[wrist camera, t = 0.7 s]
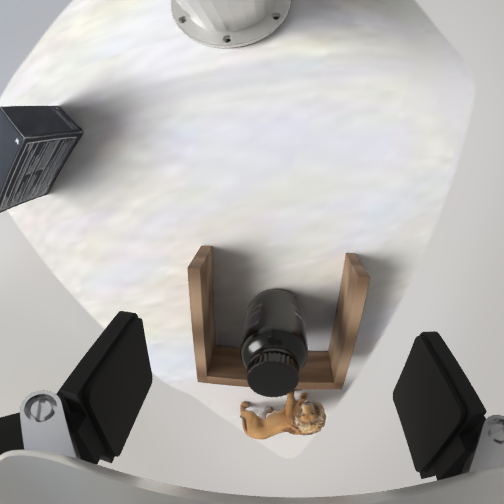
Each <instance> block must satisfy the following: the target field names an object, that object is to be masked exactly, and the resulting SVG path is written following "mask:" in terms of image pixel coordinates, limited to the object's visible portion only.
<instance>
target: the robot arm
mask: <svg viewBox="0 0 504 504" xmlns="http://www.w3.org/2000/svg"><path fill="white" fill-rule="evenodd" d="M290 5H291V0H171V12H172V16H173V19H174V21H175V22H176V24H177V26H178V27H179V28H180V29H181V30H182V31H183V32H184V33H185V34H186V35H187V36H188V37H189V38H191V39H193V40H195V41H196V42H198V43H201V44H204V45H207V46H212V47H218V48H234V47H241V46H245V45H249V44H252V43H255V42H257V41H259V40H261V39H264V38H265V37H267V36H268V35H270V34H271V33H273V32H274V31H275V30H276V29H277V28H278V27H279V26H280V25H281V24H282V23H283V21H284V20H285V18H286V17H287V14H288V12H289V9H290ZM275 17H277V18H278V19H277V20H275V19H274V18H275ZM183 21H186V22H185V23H183ZM228 39H230V40H231V41H230V42H228V43H227V42H226V40H228ZM151 384H152V372H151V367H150V362H149V356H148V351H147V345H146V340H145V334H144V328H143V322H142V319H141V318H138V316H137V314H136V313H131V312H124V311H120V312H119V313H118V314H117V315H116V316H115V317H114V319H113V320H112V321H111V322H110V324H109V325H108V326H107V328H106V329H105V330H104V331H103V333H102V334H101V335H100V337H99V338H98V339H97V341H96V342H95V343H94V344H93V346H92V347H91V348H90V349H89V351H88V352H87V353H86V354H85V356H84V357H83V358H82V360H81V361H80V363H79V364H78V365H77V366H76V368H75V369H74V370H73V372H72V373H71V375H70V376H69V377H68V379H67V380H66V381H65V383H64V384H63V386H62V387H61V388H60V390H59V391H58V393H57V394H55V393H52V392H51V391H45V390H43V391H36V392H33V393H31V394H30V395H28V396H27V397H26V398H25V399H24V400H23V401H22V403H21V406H20V413H16V414H12V415H9V416H5V417H1V418H0V504H504V416H501V415H492V416H490V417H488V418H487V419H486V418H485V417H484V415H485V413H486V409H485V408H484V406H483V404H482V402H481V400H480V399H479V397H478V395H477V394H476V392H475V390H474V388H473V387H472V386H471V383H470V382H469V380H468V378H467V377H466V375H465V373H464V372H463V370H462V369H461V367H460V365H459V364H458V362H457V361H456V359H455V357H454V356H453V355H452V353H451V351H450V350H449V348H448V347H447V345H446V344H445V342H444V341H443V339H442V338H441V336H440V335H439V333H438V332H422V333H421V334H420V336H417V337H416V339H415V341H414V344H413V346H412V349H411V351H410V354H409V356H408V359H407V361H406V364H405V366H404V368H403V371H402V373H401V375H400V378H399V380H398V383H397V384H396V387H395V389H394V392H393V401H394V403H395V406H396V409H397V412H398V415H399V418H400V421H401V424H402V427H403V431H404V433H405V437H406V440H407V443H408V446H409V450H410V453H411V456H412V460H413V463H414V467H415V469H416V471H417V472H420V476H421V479H424V478H428V477H432V476H435V475H436V478H437V481H434V482H429V483H425V484H420V485H415V486H411V487H405V488H400V489H394V490H388V491H381V492H375V493H366V494H358V495H347V496H334V497H310V498H309V497H308V498H284V497H282V498H281V497H260V496H246V495H235V494H226V493H218V492H210V491H203V490H197V489H191V488H186V487H180V486H175V485H171V484H166V483H161V482H157V481H153V480H149V479H145V478H141V477H136V476H133V475H129V474H126V473H122V472H119V471H115V470H112V469H109V468H106V467H103V466H99V465H96V464H98V462H99V460H100V459H101V460H104V461H107V462H110V463H112V461H113V459H114V457H115V456H117V457H118V456H119V455H120V454H121V451H122V449H123V447H124V445H125V442H126V440H127V438H128V436H129V433H130V431H131V429H132V427H133V424H134V422H135V420H136V417H137V415H138V413H139V411H140V409H141V406H142V404H143V402H144V400H145V398H146V395H147V393H148V391H149V388H150V386H151Z"/></svg>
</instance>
